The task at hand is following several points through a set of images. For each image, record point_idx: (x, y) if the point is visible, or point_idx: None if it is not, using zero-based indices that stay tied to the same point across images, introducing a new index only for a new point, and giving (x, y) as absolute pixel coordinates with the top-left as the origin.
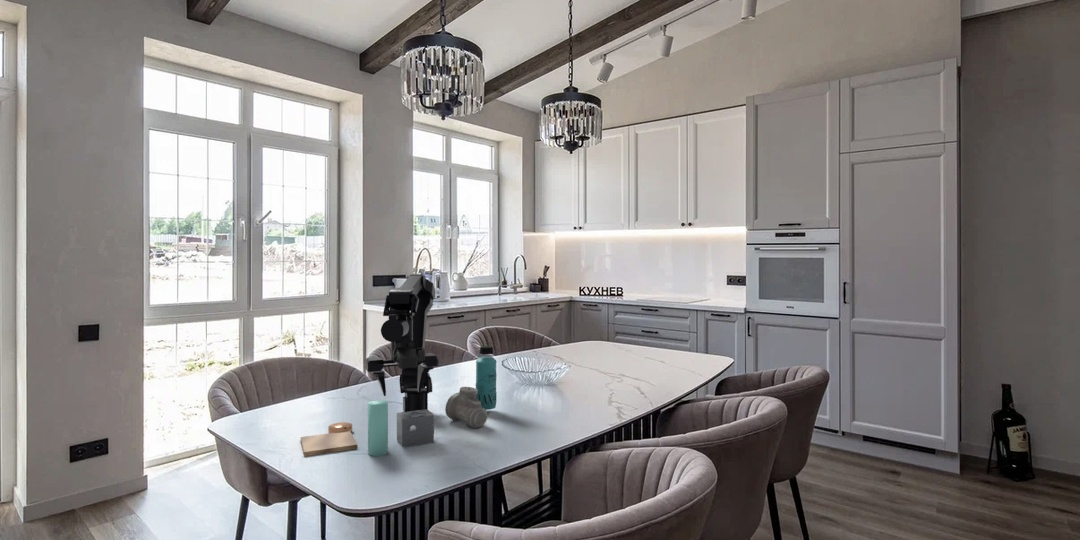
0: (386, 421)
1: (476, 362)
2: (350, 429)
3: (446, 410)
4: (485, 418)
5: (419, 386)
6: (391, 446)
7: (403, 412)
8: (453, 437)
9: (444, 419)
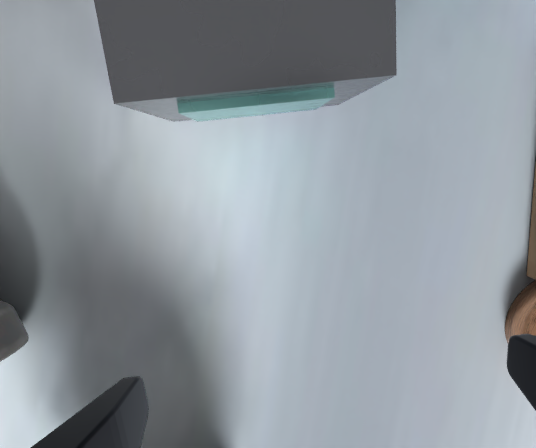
0: None
1: None
2: (533, 301)
3: (6, 338)
4: None
5: (101, 418)
6: None
7: (336, 70)
8: (32, 36)
9: (60, 360)
